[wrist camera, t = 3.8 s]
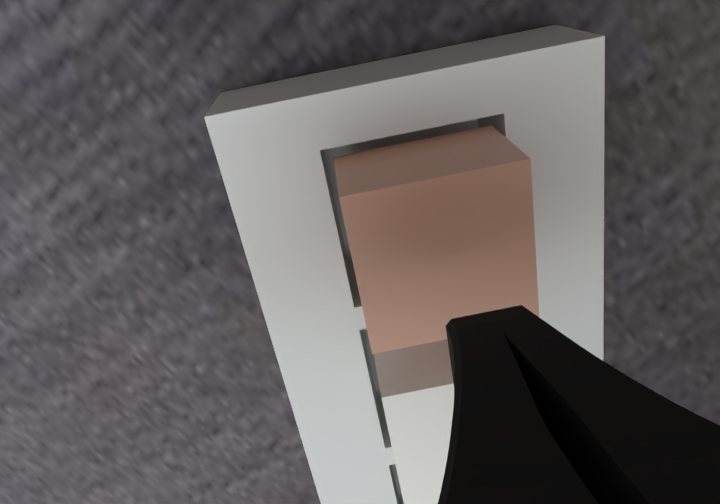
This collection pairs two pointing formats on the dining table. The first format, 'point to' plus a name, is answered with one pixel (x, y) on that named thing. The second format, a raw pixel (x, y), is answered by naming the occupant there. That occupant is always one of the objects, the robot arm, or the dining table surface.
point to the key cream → (418, 415)
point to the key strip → (327, 229)
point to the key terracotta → (438, 232)
